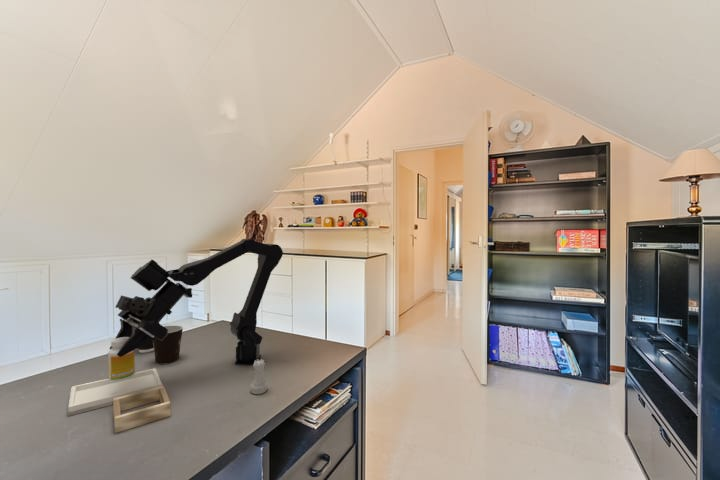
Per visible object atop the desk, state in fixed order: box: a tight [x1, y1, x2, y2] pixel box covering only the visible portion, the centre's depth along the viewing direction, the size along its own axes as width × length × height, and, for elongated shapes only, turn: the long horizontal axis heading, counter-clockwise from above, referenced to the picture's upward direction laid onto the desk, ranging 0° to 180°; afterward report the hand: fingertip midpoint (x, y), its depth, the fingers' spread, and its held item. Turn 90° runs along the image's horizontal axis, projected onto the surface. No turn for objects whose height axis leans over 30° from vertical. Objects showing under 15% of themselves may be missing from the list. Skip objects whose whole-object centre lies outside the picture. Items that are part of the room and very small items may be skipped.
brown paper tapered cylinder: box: [153, 324, 184, 365], centre depth 103 cm, size 12×9×10 cm
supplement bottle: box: [107, 337, 136, 382], centre depth 79 cm, size 5×5×10 cm
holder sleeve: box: [112, 385, 172, 434], centre depth 72 cm, size 10×10×3 cm
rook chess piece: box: [249, 358, 268, 395], centre depth 84 cm, size 4×4×8 cm
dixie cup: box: [137, 341, 154, 354], centre depth 110 cm, size 8×8×11 cm
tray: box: [67, 367, 163, 417], centre depth 81 cm, size 18×12×2 cm, turn 130°
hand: (114, 353), depth 78 cm, fingers closed on supplement bottle, 5 cm apart
